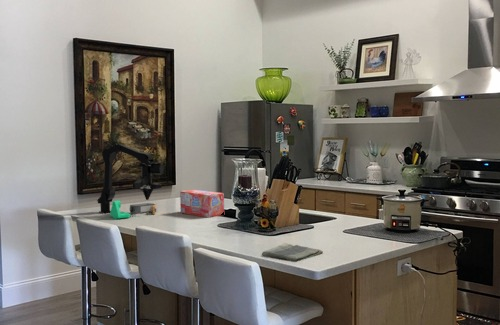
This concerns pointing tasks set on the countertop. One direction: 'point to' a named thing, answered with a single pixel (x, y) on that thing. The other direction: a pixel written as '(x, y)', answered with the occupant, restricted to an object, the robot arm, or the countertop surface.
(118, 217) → the camera mount
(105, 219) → the countertop surface
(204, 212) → the box
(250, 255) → the countertop surface
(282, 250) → the dish towel
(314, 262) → the countertop surface
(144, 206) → the housing
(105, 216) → the countertop surface
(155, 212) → the door
